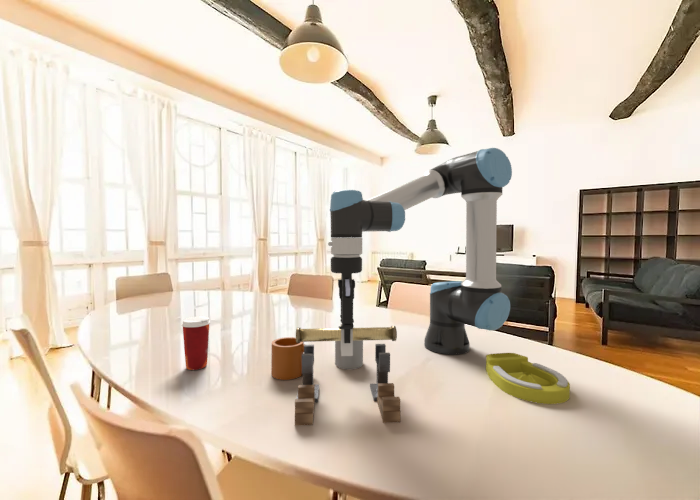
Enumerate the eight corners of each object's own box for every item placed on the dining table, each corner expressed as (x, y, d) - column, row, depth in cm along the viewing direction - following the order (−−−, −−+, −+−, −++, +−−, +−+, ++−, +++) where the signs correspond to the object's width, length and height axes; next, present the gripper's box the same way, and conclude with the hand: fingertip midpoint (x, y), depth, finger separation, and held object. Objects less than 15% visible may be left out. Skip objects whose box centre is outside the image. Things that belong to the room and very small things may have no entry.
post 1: (318, 388, 81) (319, 344, 80) (317, 403, 73) (318, 355, 73) (299, 388, 80) (299, 344, 80) (295, 403, 73) (296, 355, 73)
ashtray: (524, 368, 95) (524, 351, 95) (586, 404, 75) (587, 383, 75) (473, 371, 92) (474, 354, 92) (524, 410, 72) (525, 388, 72)
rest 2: (392, 403, 74) (393, 382, 73) (400, 423, 66) (400, 400, 66) (377, 403, 73) (377, 382, 73) (383, 424, 65) (383, 400, 65)
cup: (360, 370, 92) (360, 336, 91) (332, 368, 93) (332, 334, 93) (364, 359, 100) (364, 328, 99) (339, 357, 102) (339, 326, 101)
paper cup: (216, 363, 96) (216, 317, 95) (194, 373, 89) (194, 323, 88) (198, 359, 99) (197, 314, 98) (175, 368, 92) (174, 320, 91)
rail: (394, 338, 80) (394, 324, 79) (397, 343, 76) (397, 328, 76) (297, 340, 78) (297, 325, 78) (295, 345, 75) (295, 330, 74)
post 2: (389, 386, 82) (389, 343, 81) (395, 401, 75) (395, 354, 74) (369, 387, 82) (370, 343, 81) (373, 401, 74) (374, 354, 74)
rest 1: (314, 405, 73) (314, 384, 72) (312, 425, 65) (312, 402, 64) (298, 405, 72) (298, 384, 72) (294, 426, 64) (294, 402, 64)
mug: (302, 385, 82) (302, 350, 82) (264, 376, 87) (264, 344, 87) (319, 371, 91) (319, 340, 90) (283, 364, 95) (283, 335, 95)
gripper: (330, 254, 84) (331, 341, 85) (330, 258, 68) (331, 366, 69) (359, 253, 84) (359, 341, 85) (365, 258, 68) (365, 365, 69)
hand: (346, 352), depth 77 cm, fingers closed on rail, 3 cm apart
